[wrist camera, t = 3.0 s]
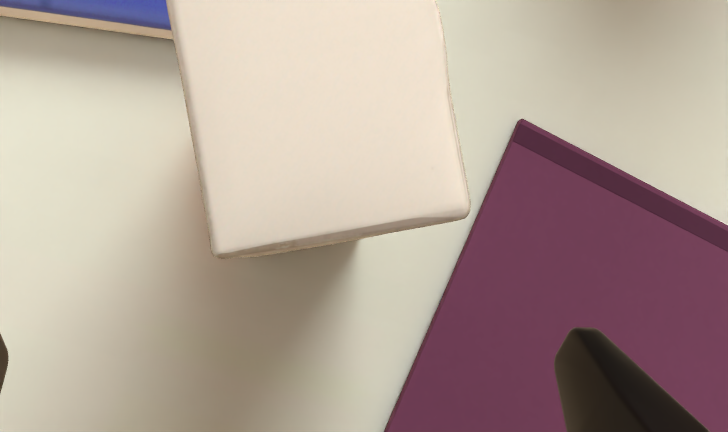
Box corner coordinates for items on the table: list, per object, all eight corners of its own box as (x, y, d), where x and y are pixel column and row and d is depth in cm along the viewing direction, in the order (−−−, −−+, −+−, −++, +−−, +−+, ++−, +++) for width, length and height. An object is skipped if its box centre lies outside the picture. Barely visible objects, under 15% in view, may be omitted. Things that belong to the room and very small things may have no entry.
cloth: (640, 714, 21) (648, 723, 20) (317, 585, 19) (318, 592, 19) (793, 263, 23) (802, 263, 23) (518, 120, 22) (522, 117, 22)
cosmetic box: (216, 94, 20) (139, -143, 8) (334, 79, 21) (415, -159, 9) (244, 264, 20) (205, 264, 8) (364, 242, 21) (487, 215, 9)
